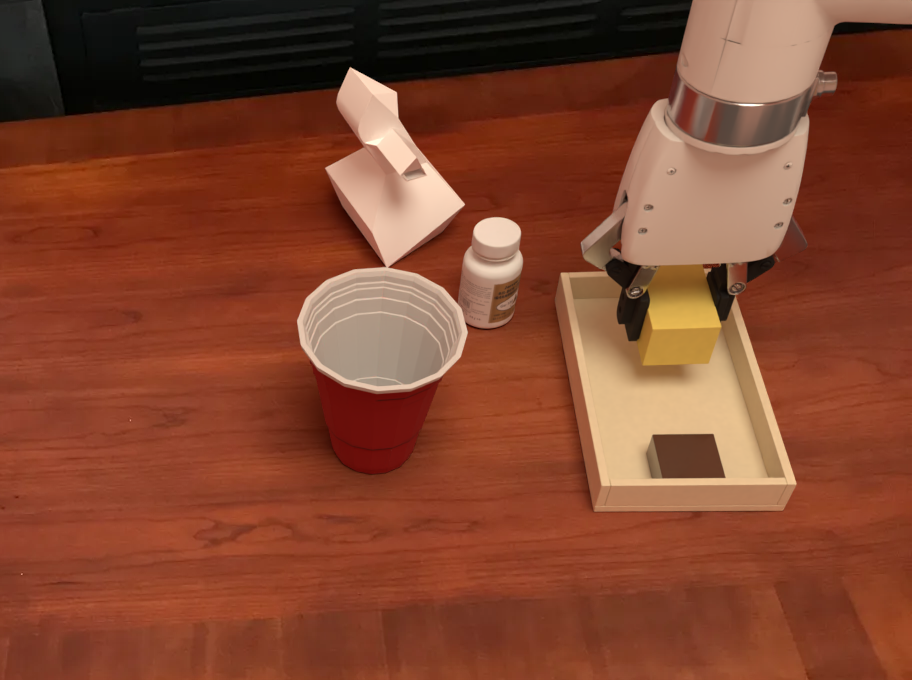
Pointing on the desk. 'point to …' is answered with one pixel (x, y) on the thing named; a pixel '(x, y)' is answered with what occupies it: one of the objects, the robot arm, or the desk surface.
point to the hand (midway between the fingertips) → (667, 324)
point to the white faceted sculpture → (388, 175)
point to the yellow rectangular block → (679, 318)
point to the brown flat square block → (684, 456)
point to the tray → (666, 410)
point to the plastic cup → (379, 359)
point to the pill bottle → (491, 273)
